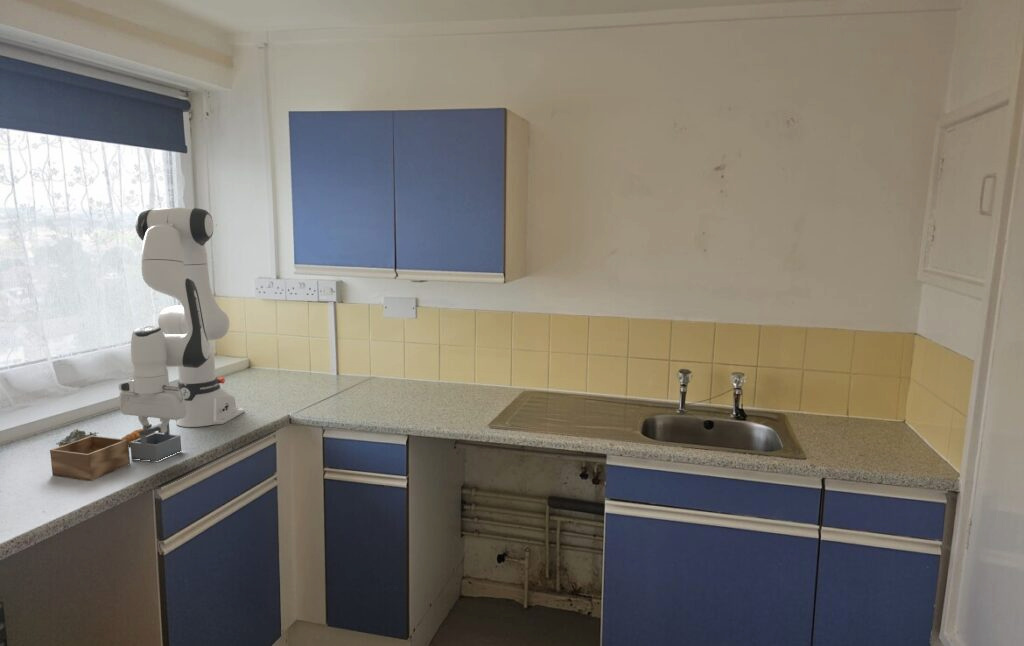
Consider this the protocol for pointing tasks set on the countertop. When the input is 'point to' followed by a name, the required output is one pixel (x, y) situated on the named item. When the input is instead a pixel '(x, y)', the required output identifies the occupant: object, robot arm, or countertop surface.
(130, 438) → the pastry
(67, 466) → the big crate
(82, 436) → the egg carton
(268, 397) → the countertop surface
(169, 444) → the small crate
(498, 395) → the countertop surface
